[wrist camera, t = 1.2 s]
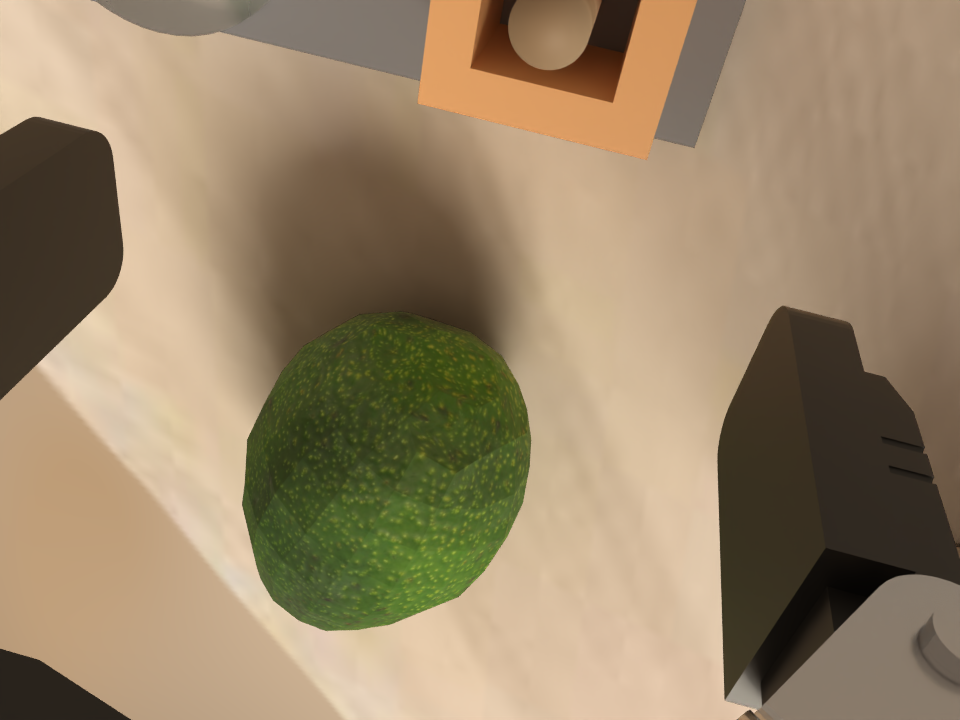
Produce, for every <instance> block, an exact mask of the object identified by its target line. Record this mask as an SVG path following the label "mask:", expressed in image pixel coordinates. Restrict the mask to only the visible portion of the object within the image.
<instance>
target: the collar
mask: <svg viewBox="0 0 960 720" xmlns="http://www.w3.org/2000/svg"><path fill="white" fill-rule="evenodd" d="M503 3H504V0H430V8H429V16H428V24H427V32H426V40H425V48H424V56H423V64H422V72H421V80H420V87H419V95H418V104H422V105H426V106H430V107H434V108H438V109H442V110H446V111H450V112H454V113H458V114H463V115H467V116H471V117H475V118H479V119H483V120H487V121H491V122H495V123H499V124H503V125H507V126H511V127H515V128H519V129H523V130H527V131H532V132H536V133H540V134H544V135H548V136H552V137H556V138H560V139H564V140H568V141H572V142H576V143H580V144H584V145H588V146H592V147H596V148H601V149H605V150H609V151H613V152H617V153H621V154H625V155H629V156H633V157H637V158H641V159H645V160H647V158H648V155H649V152H650V148H651V145H652V142H653V139H654V136H655V133H656V129H657V126H658V123H659V120H660V117H661V114H662V110H663V107H664V104H665V101H666V98H667V95H668V91H669V88H670V85H671V82H672V79H673V76H674V72H675V69H676V66H677V63H678V60H679V56H680V53H681V50H682V47H683V44H684V41H685V37H686V34H687V31H688V28H689V25H690V22H691V18H692V15H693V12H694V9H695V6H696V3H697V0H638V3H637V7H636V11H635V14H634V18H633V21H632V25H631V29H630V32H629V36H628V40H627V43H626V47H625V51H624V53H621V52H617V51H613V50H609V49H605V48H600V47H596V46H592V45H588V44H587V46H586V48H585V50H584V51H583V53H582V54H581V55H580V56H579V58H578V59H576V60H575V61H574V62H573V63H571V64H570V65H568V66H566V67H564V68H561V69H557V70H543V69H538V68H535V67H533V66H531V65H529V64H528V63H526V62H525V61H524V60H522V59H521V58H520V57H519V55H518V54H517V53H516V51H515V50H514V48H513V46H512V44H511V41H510V38H509V32H508V25H504V24H500V19H501V14H502V8H503Z"/></svg>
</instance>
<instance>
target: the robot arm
mask: <svg viewBox="0 0 960 720" xmlns="http://www.w3.org/2000/svg"><path fill="white" fill-rule="evenodd" d="M122 261H123V241H122V232H121V223H120V214H119V206H118V197H117V188H116V179H115V171H114V162H113V155H112V150H111V147H110V144H109V142H108V140H107V139H106V137H105V136H104V135H102V134H101V133H99V132H97V131H93V130H89V129H85V128H81V127H77V126H73V125H69V124H65V123H61V122H57V121H53V120H49V119H45V118H41V117H32V118H29V119H27V120H25V121H23V122H21V123H20V124H18V125H16V126H15V127H13V128H11V129H10V130H8V131H6V132H5V133H3V134H1V135H0V400H1V399H2V398H3V397H4V396H5V395H6V394H7V393H8V392H9V391H10V390H11V389H12V388H13V387H14V386H15V385H16V384H17V383H18V382H19V381H20V380H21V379H22V378H23V377H24V376H25V375H26V374H28V373H29V372H30V371H31V370H32V368H33V367H35V366H36V365H37V364H38V363H39V362H40V361H41V360H42V359H43V358H44V357H45V356H46V355H47V354H48V353H49V352H50V351H51V350H52V349H53V348H54V347H55V346H56V345H57V344H58V343H59V342H60V341H61V340H62V339H63V338H65V337H66V336H67V335H68V334H69V333H70V332H71V331H72V330H73V329H74V328H75V327H76V326H77V325H78V324H79V323H80V322H81V321H82V320H83V319H84V318H85V317H86V316H87V315H88V314H89V313H90V312H91V311H92V310H93V309H94V308H95V307H96V306H97V305H98V304H99V303H100V302H102V301H103V300H104V299H105V298H106V297H107V295H108V294H109V293H110V292H111V290H112V289H113V287H114V285H115V283H116V281H117V279H118V277H119V273H120V270H121V266H122ZM924 448H925V447H924V444H923V441H922V437H921V434H920V431H919V428H918V425H917V422H916V418H915V415H914V412H913V411H912V410H911V408H910V407H909V406H908V405H907V403H906V402H905V401H904V400H903V399H902V397H901V396H900V395H899V394H898V392H897V391H896V390H895V389H894V387H893V386H892V385H891V384H890V383H889V381H888V380H887V379H886V378H885V377H883V376H879V375H875V374H871V373H867V372H864V369H863V365H862V362H861V358H860V354H859V350H858V346H857V342H856V338H855V335H854V331H853V328H852V326H851V324H850V323H848V322H846V321H842V320H838V319H834V318H830V317H826V316H822V315H818V314H814V313H810V312H806V311H802V310H798V309H794V308H790V307H786V306H781V307H780V308H778V309H777V310H776V312H775V313H774V314H773V316H772V318H771V319H770V321H769V323H768V325H767V327H766V329H765V332H764V334H763V336H762V338H761V340H760V342H759V344H758V346H757V349H756V351H755V353H754V355H753V357H752V359H751V361H750V363H749V366H748V368H747V370H746V372H745V374H744V376H743V378H742V380H741V383H740V385H739V387H738V389H737V391H736V393H735V395H734V397H733V399H732V402H731V404H730V406H729V408H728V411H727V414H726V416H725V419H724V423H723V426H722V430H721V434H720V440H719V446H718V493H719V526H720V560H721V593H722V627H723V660H724V694H725V701H728V702H732V703H735V704H739V705H743V706H746V707H750V708H753V709H757V710H758V711H756V712H755V713H753V712H752V711H751V710H749V711H747V712H745V713H744V714H743V715H742V716H740V717H739V718H738V719H737V720H960V547H956V545H955V542H954V538H953V535H952V532H951V529H950V526H949V523H948V520H947V516H946V513H945V510H944V507H943V504H942V501H941V497H940V494H939V491H938V488H937V485H936V484H932V481H933V478H934V475H933V472H932V469H931V466H930V463H929V459H928V456H927V454H923V450H924ZM0 720H131V719H129V718H127V717H126V716H124V715H123V714H121V713H120V712H118V711H117V710H115V709H114V708H112V707H111V706H109V705H107V704H106V703H105V702H103V701H101V700H100V699H98V698H97V697H95V696H94V695H92V694H90V693H89V692H88V691H86V690H84V689H83V688H81V687H80V686H78V685H76V684H75V683H74V682H72V681H70V680H69V679H68V678H66V677H64V676H63V675H61V674H60V673H58V672H57V671H55V670H53V669H52V668H51V667H49V666H48V665H46V664H45V663H43V662H42V661H40V660H37V659H34V658H30V657H27V656H23V655H20V654H16V653H13V652H10V651H6V650H3V649H0Z"/></svg>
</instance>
